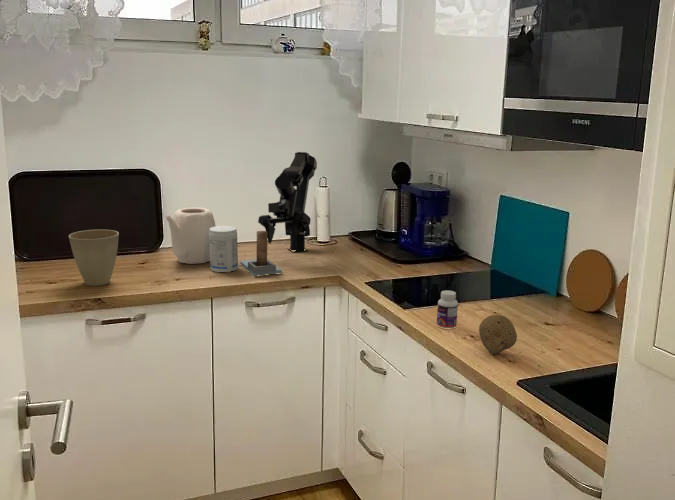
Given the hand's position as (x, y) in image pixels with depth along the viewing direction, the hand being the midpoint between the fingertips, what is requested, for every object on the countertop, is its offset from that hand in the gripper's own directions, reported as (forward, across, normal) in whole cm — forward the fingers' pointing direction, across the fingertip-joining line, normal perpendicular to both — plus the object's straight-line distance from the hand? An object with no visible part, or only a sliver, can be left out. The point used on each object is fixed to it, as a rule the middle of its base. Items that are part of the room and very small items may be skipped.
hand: (280, 242), depth 239 cm
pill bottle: (+35, +67, -12) cm, 76 cm away
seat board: (+10, -6, 0) cm, 12 cm away
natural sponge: (+45, +83, -21) cm, 97 cm away
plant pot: (+27, -42, -37) cm, 62 cm away
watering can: (+8, -32, -6) cm, 34 cm away
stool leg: (+12, -3, -4) cm, 13 cm away
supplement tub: (+12, -17, -7) cm, 22 cm away
